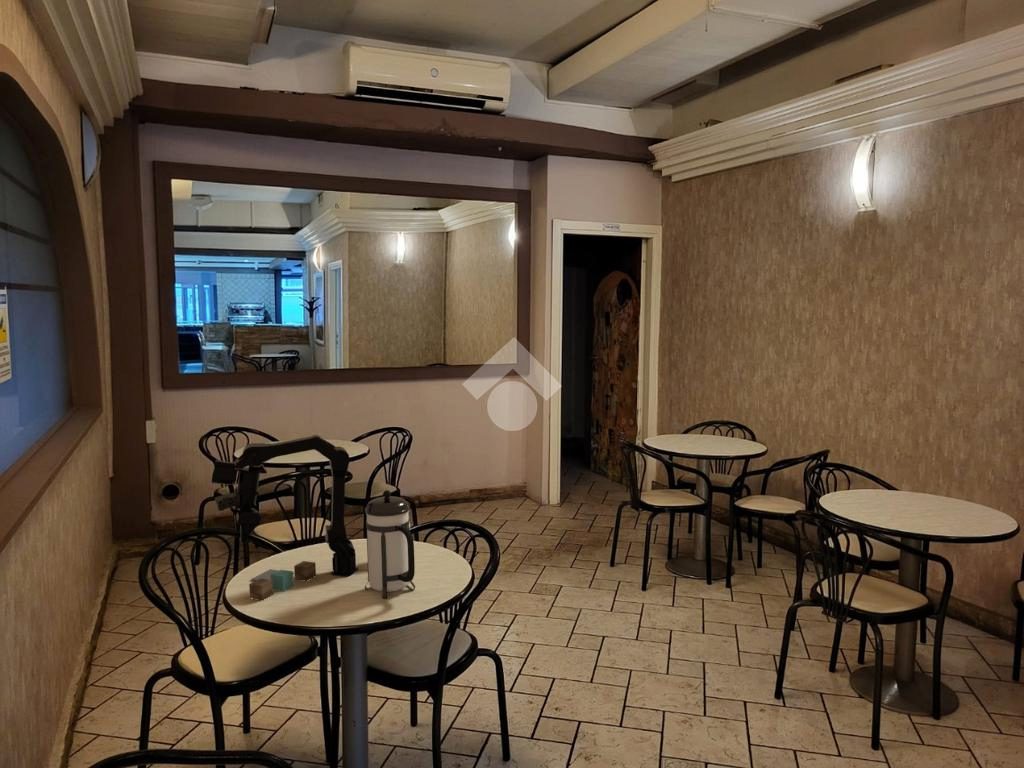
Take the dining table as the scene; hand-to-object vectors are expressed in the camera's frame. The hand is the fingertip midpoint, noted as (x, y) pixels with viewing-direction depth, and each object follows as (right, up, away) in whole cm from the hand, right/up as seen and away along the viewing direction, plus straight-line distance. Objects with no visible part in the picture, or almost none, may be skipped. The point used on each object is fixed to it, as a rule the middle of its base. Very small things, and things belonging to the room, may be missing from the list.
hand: (240, 537), depth 218 cm
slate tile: (+7, -14, +8) cm, 18 cm away
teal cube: (+13, -15, 0) cm, 20 cm away
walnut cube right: (+18, -14, +7) cm, 24 cm away
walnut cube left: (+9, -16, -7) cm, 19 cm away
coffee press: (+47, -15, -4) cm, 49 cm away
